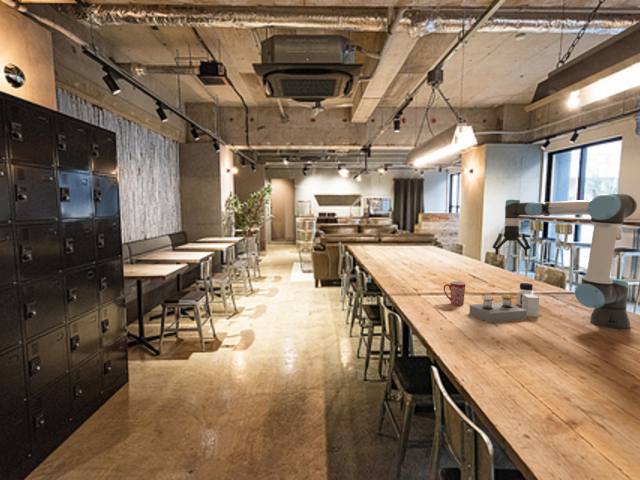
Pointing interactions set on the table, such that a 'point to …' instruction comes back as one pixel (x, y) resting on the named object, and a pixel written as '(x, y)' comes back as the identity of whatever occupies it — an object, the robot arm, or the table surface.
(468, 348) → the table surface
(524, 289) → the container
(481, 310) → the block
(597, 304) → the robot arm
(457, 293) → the mug
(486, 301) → the plug cream
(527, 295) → the small box
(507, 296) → the gold lidded glass jar
